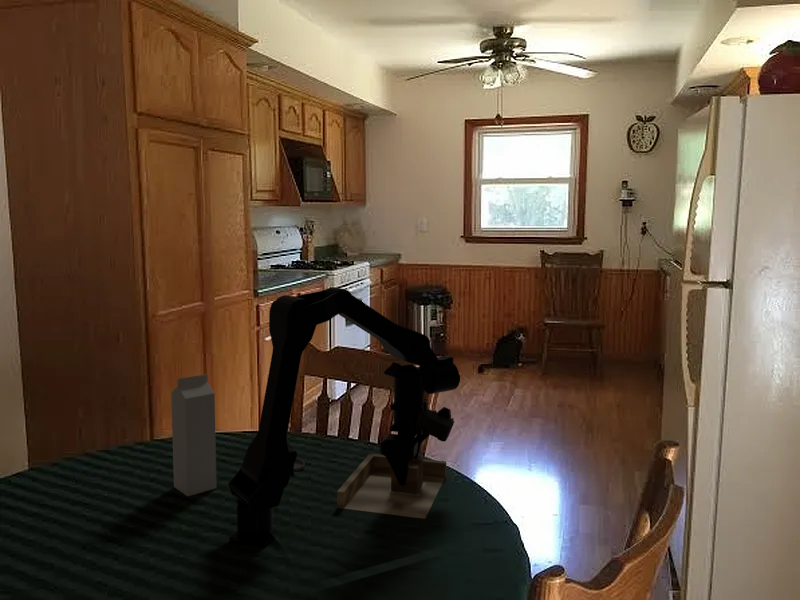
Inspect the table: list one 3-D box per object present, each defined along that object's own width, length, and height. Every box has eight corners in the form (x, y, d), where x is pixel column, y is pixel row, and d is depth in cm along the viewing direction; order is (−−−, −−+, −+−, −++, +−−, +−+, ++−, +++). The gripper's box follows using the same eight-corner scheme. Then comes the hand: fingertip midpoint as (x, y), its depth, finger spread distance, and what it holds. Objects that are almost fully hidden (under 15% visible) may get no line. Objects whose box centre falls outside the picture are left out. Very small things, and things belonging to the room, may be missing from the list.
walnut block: (416, 494, 127) (417, 468, 126) (391, 491, 128) (391, 465, 128) (422, 484, 132) (423, 459, 131) (397, 481, 133) (397, 456, 132)
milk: (216, 488, 131) (215, 377, 128) (187, 497, 127) (184, 382, 124) (202, 479, 135) (200, 371, 133) (172, 487, 131) (170, 375, 128)
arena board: (424, 524, 117) (425, 501, 117) (337, 512, 121) (337, 491, 120) (445, 480, 136) (446, 461, 136) (369, 472, 140) (369, 453, 140)
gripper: (441, 414, 117) (439, 501, 119) (459, 388, 135) (457, 464, 137) (379, 409, 119) (378, 494, 121) (404, 384, 137) (403, 458, 139)
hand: (407, 476), depth 130 cm, fingers open, 8 cm apart
